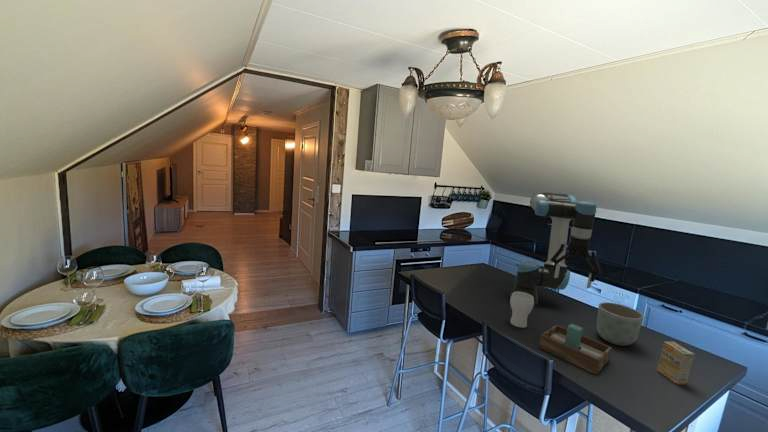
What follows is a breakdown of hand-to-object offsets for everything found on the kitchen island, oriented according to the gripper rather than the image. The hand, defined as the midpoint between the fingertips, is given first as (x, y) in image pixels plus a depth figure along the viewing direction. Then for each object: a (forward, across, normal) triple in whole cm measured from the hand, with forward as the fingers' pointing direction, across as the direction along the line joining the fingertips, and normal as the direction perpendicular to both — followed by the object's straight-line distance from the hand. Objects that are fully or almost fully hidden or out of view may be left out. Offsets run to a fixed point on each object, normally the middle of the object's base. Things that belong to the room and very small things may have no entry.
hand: (571, 282), depth 147 cm
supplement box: (+27, +39, +5) cm, 47 cm away
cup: (+27, -18, -6) cm, 33 cm away
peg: (+26, +8, -12) cm, 30 cm away
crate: (+26, +9, -11) cm, 30 cm away
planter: (+27, +16, +19) cm, 37 cm away
